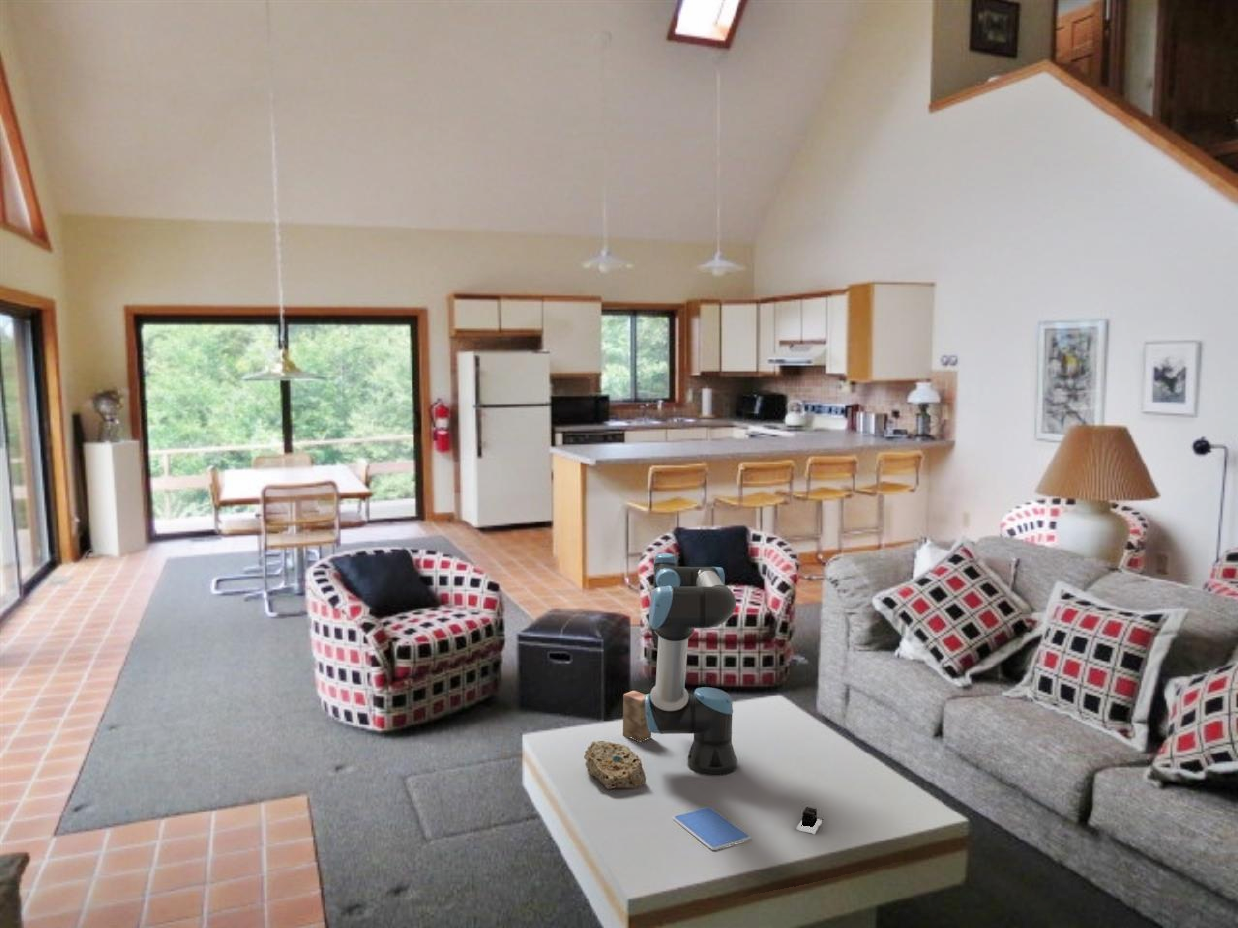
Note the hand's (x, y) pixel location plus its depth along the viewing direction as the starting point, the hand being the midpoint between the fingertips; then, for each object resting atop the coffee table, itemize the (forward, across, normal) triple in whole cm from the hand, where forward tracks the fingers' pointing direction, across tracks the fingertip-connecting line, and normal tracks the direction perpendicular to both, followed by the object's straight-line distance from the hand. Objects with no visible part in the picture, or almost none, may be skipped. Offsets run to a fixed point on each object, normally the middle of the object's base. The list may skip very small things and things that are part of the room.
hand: (663, 667), depth 311 cm
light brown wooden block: (+20, +13, 0) cm, 24 cm away
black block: (+21, +24, +72) cm, 79 cm away
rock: (+21, +40, +14) cm, 47 cm away
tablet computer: (+21, +44, +54) cm, 73 cm away
